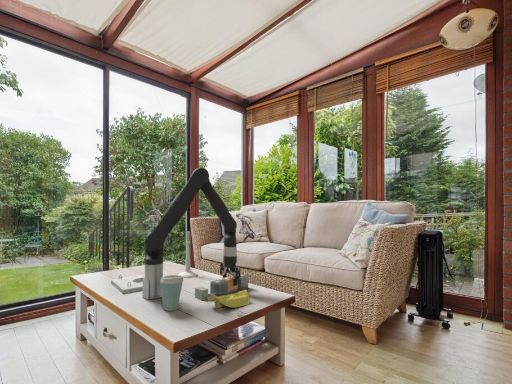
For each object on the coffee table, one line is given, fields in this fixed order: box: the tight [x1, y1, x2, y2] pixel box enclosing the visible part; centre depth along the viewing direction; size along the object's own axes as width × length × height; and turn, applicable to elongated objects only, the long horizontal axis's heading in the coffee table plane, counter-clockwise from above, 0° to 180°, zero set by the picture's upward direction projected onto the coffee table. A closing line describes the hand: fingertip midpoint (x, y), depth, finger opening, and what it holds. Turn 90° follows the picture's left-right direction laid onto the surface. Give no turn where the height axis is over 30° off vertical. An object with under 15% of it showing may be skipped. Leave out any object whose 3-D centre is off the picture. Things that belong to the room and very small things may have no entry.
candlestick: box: [177, 231, 198, 279], centre depth 199 cm, size 13×13×30 cm
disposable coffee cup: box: [160, 274, 184, 312], centre depth 138 cm, size 11×11×15 cm
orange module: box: [221, 275, 238, 291], centre depth 164 cm, size 7×5×6 cm
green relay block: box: [194, 286, 209, 301], centre depth 152 cm, size 4×6×5 cm, turn 44°
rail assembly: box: [208, 274, 249, 297], centre depth 163 cm, size 26×7×7 cm, turn 138°
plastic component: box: [206, 289, 251, 309], centre depth 142 cm, size 20×7×10 cm
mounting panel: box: [110, 273, 167, 295], centre depth 179 cm, size 27×5×30 cm
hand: (229, 284), depth 164 cm, fingers open, 8 cm apart
